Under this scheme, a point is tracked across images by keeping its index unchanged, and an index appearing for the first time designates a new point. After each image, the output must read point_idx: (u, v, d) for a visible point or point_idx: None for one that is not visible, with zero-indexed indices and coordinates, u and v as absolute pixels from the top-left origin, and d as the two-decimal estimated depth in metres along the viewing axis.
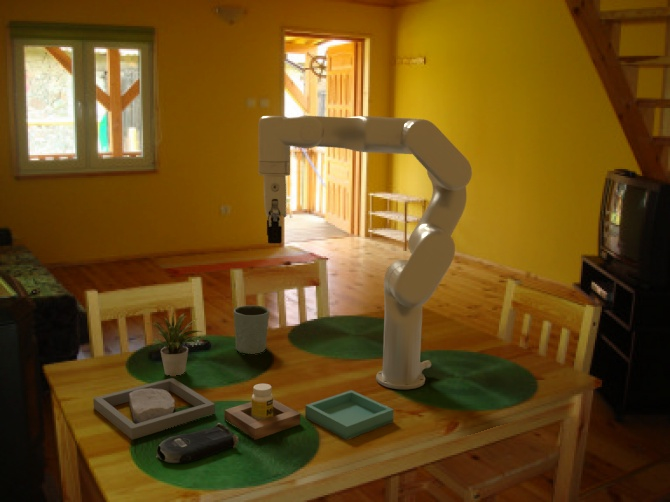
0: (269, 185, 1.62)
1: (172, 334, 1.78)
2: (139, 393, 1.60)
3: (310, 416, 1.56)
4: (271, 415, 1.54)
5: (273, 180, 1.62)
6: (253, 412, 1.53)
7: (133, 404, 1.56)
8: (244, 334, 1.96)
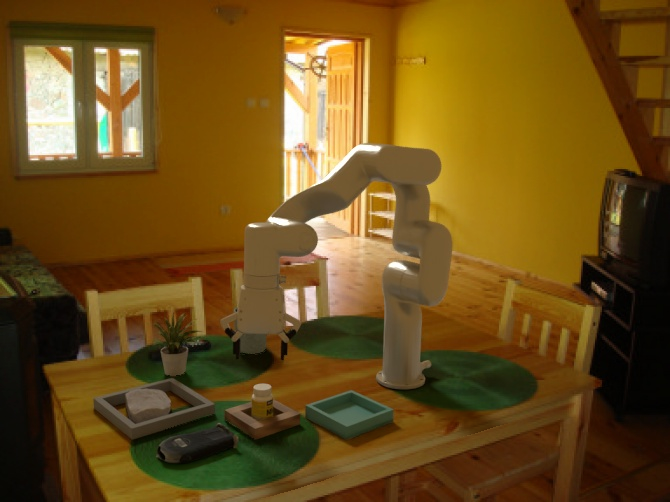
0: (282, 299, 1.48)
1: (172, 334, 1.78)
2: (135, 394, 1.60)
3: (310, 416, 1.56)
4: (271, 415, 1.54)
5: (282, 292, 1.49)
6: (253, 412, 1.53)
7: (129, 405, 1.56)
8: (244, 334, 1.96)
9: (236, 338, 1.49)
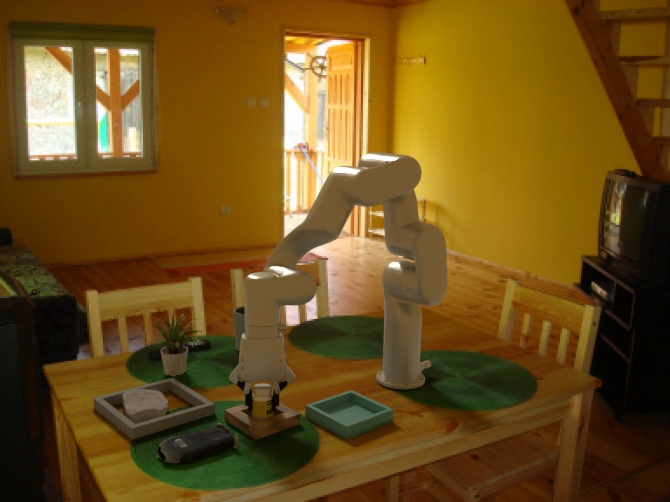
0: (283, 347, 1.51)
1: (172, 334, 1.78)
2: (132, 394, 1.59)
3: (310, 416, 1.56)
4: (271, 415, 1.54)
5: (283, 340, 1.51)
6: (253, 412, 1.53)
7: (126, 405, 1.56)
8: None
9: (248, 391, 1.52)
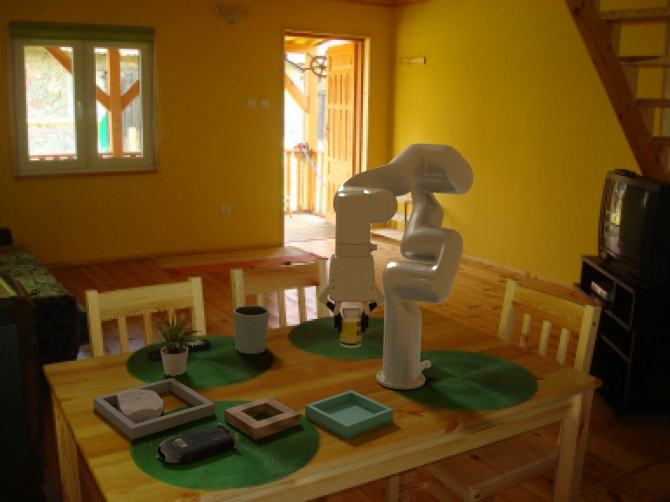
0: None
1: (172, 334, 1.78)
2: (127, 394, 1.59)
3: (310, 416, 1.56)
4: (360, 337, 1.53)
5: (373, 260, 1.50)
6: (342, 333, 1.52)
7: (121, 405, 1.55)
8: (244, 334, 1.96)
9: (338, 312, 1.51)
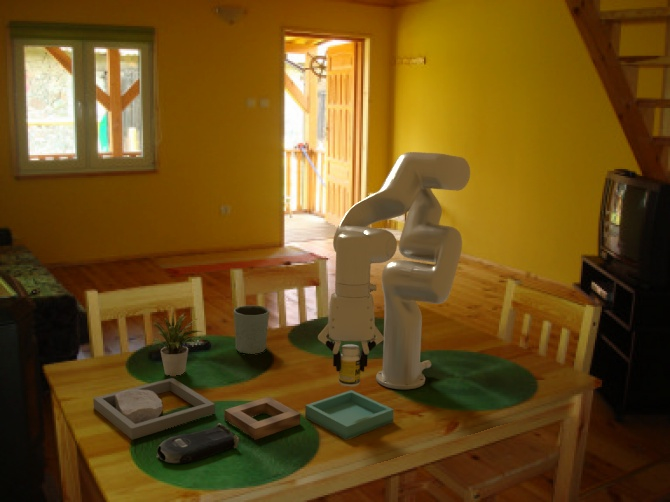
0: (373, 307, 1.51)
1: (172, 334, 1.78)
2: (125, 394, 1.59)
3: (310, 416, 1.56)
4: (359, 375, 1.54)
5: (372, 300, 1.52)
6: (341, 372, 1.53)
7: (121, 405, 1.55)
8: (244, 334, 1.96)
9: (337, 351, 1.52)
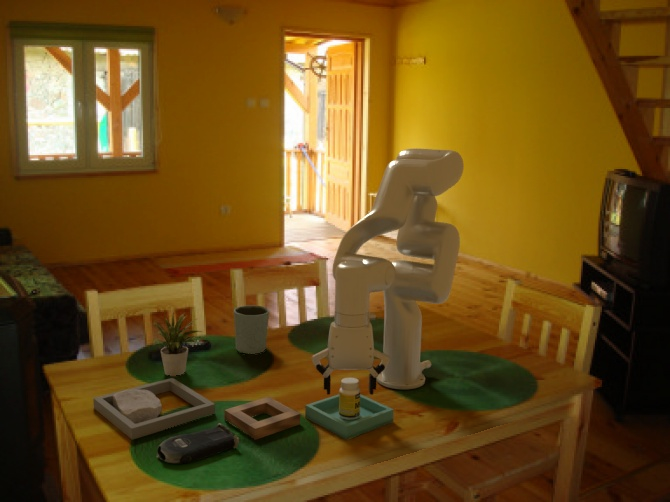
0: (372, 335, 1.52)
1: (172, 334, 1.78)
2: (123, 394, 1.59)
3: (310, 416, 1.56)
4: (359, 408, 1.56)
5: None
6: (341, 406, 1.55)
7: (120, 405, 1.55)
8: (244, 334, 1.96)
9: (327, 374, 1.53)
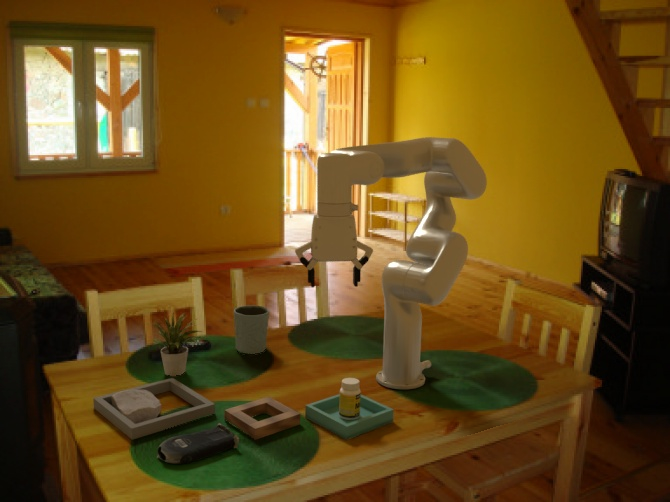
0: (355, 226, 1.53)
1: (172, 334, 1.78)
2: (122, 395, 1.59)
3: (310, 416, 1.56)
4: (359, 409, 1.56)
5: (354, 220, 1.54)
6: (342, 406, 1.55)
7: (119, 406, 1.55)
8: (244, 334, 1.96)
9: (311, 266, 1.54)
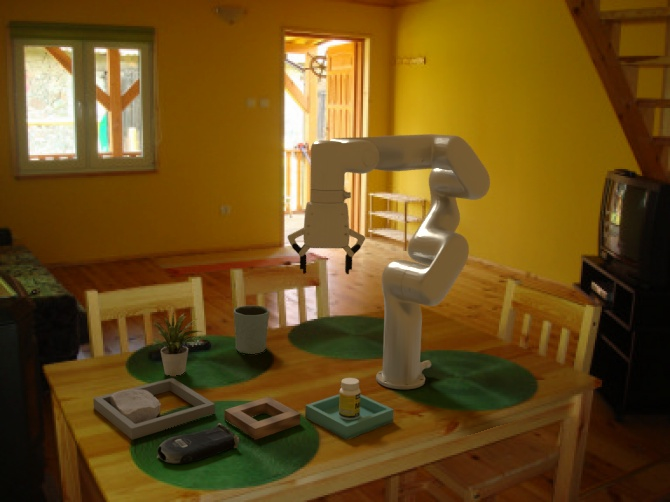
0: (347, 214, 1.54)
1: (172, 334, 1.78)
2: (122, 394, 1.59)
3: (310, 416, 1.56)
4: (359, 409, 1.56)
5: (347, 208, 1.54)
6: (341, 406, 1.55)
7: (119, 405, 1.55)
8: (244, 334, 1.96)
9: (303, 253, 1.55)
